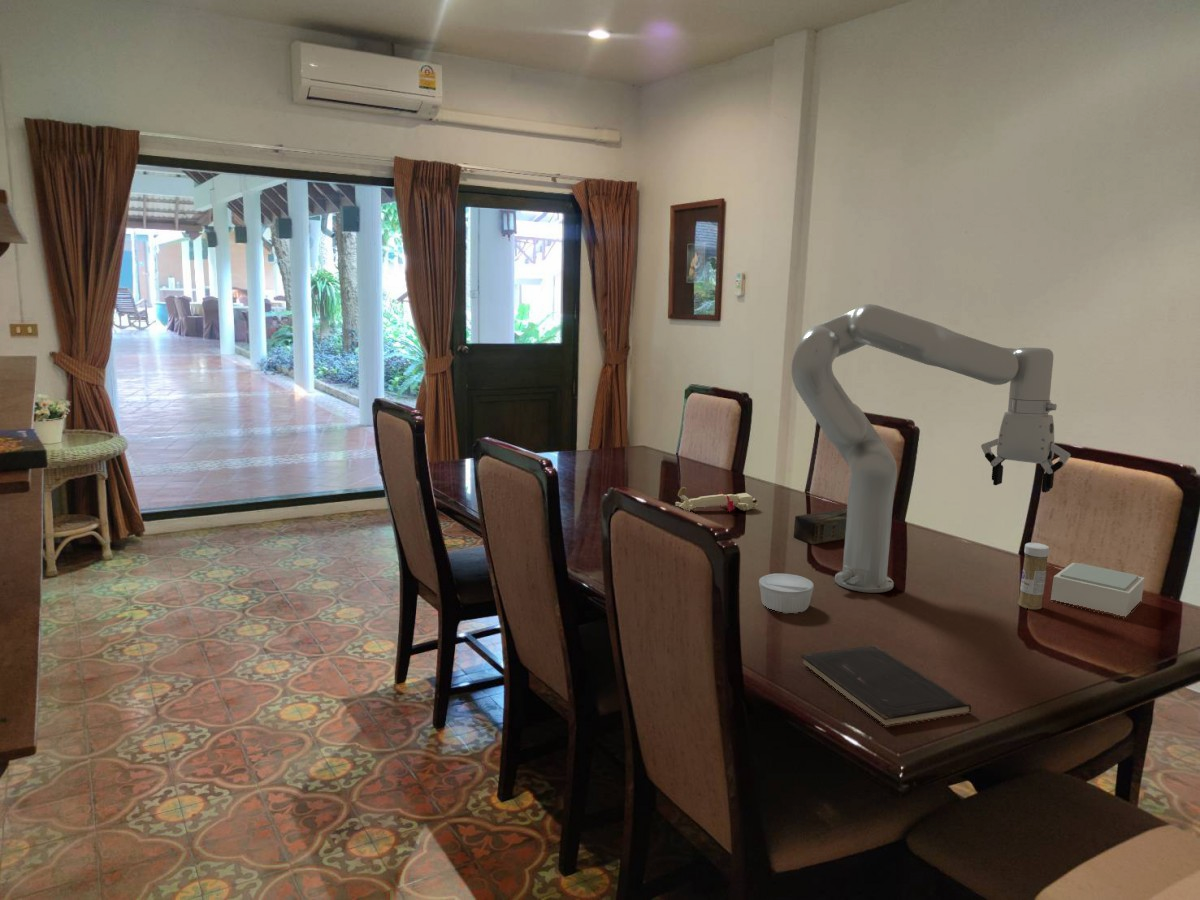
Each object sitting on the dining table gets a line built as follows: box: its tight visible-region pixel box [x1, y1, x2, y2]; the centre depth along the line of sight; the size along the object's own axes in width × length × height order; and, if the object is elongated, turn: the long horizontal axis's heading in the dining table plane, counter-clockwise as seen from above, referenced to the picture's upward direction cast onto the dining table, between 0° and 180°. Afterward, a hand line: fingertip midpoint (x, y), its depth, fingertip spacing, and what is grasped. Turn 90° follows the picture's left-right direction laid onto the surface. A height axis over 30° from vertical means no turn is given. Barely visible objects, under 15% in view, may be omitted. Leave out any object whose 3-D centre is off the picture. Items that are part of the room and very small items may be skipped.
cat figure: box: [675, 486, 759, 513], centre depth 249 cm, size 10×9×25 cm
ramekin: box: [758, 572, 815, 614], centre depth 172 cm, size 11×11×5 cm
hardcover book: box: [800, 644, 972, 725], centre depth 136 cm, size 16×23×2 cm
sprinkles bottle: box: [1017, 542, 1050, 610], centre depth 174 cm, size 5×5×13 cm
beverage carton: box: [793, 509, 847, 545], centre depth 224 cm, size 8×19×7 cm, turn 120°
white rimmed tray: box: [1050, 562, 1145, 617], centre depth 178 cm, size 14×14×6 cm
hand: (1021, 487), depth 175 cm, fingers open, 9 cm apart
